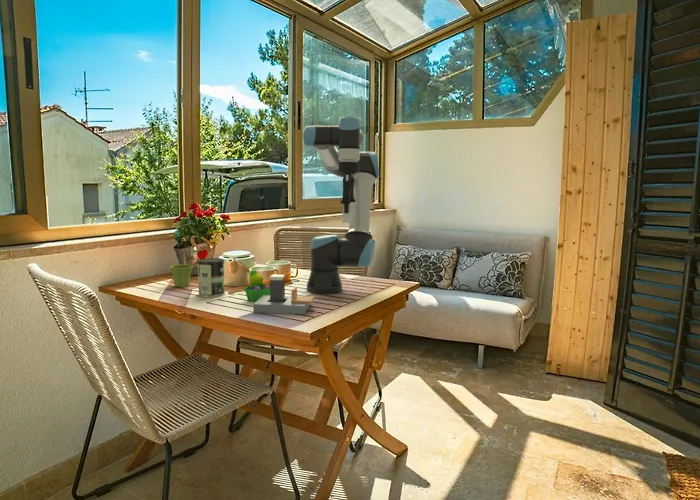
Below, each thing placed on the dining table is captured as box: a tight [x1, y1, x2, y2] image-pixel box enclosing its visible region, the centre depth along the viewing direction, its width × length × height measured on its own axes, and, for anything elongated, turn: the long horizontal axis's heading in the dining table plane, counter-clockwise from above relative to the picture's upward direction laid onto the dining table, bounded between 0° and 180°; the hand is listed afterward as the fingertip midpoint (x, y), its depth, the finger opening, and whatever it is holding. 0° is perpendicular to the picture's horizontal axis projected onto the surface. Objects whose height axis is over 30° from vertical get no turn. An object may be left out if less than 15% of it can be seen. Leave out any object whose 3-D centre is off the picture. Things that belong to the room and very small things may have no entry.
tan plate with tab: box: [291, 286, 315, 304], centre depth 179 cm, size 7×7×4 cm
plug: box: [269, 273, 286, 302], centre depth 180 cm, size 5×5×12 cm
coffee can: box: [196, 257, 226, 298], centre depth 200 cm, size 10×10×14 cm
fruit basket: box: [243, 269, 270, 303], centre depth 194 cm, size 11×9×11 cm
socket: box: [253, 295, 312, 315], centre depth 180 cm, size 14×18×3 cm
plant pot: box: [169, 264, 194, 288], centre depth 215 cm, size 9×9×9 cm
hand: (348, 221), depth 180 cm, fingers open, 13 cm apart
